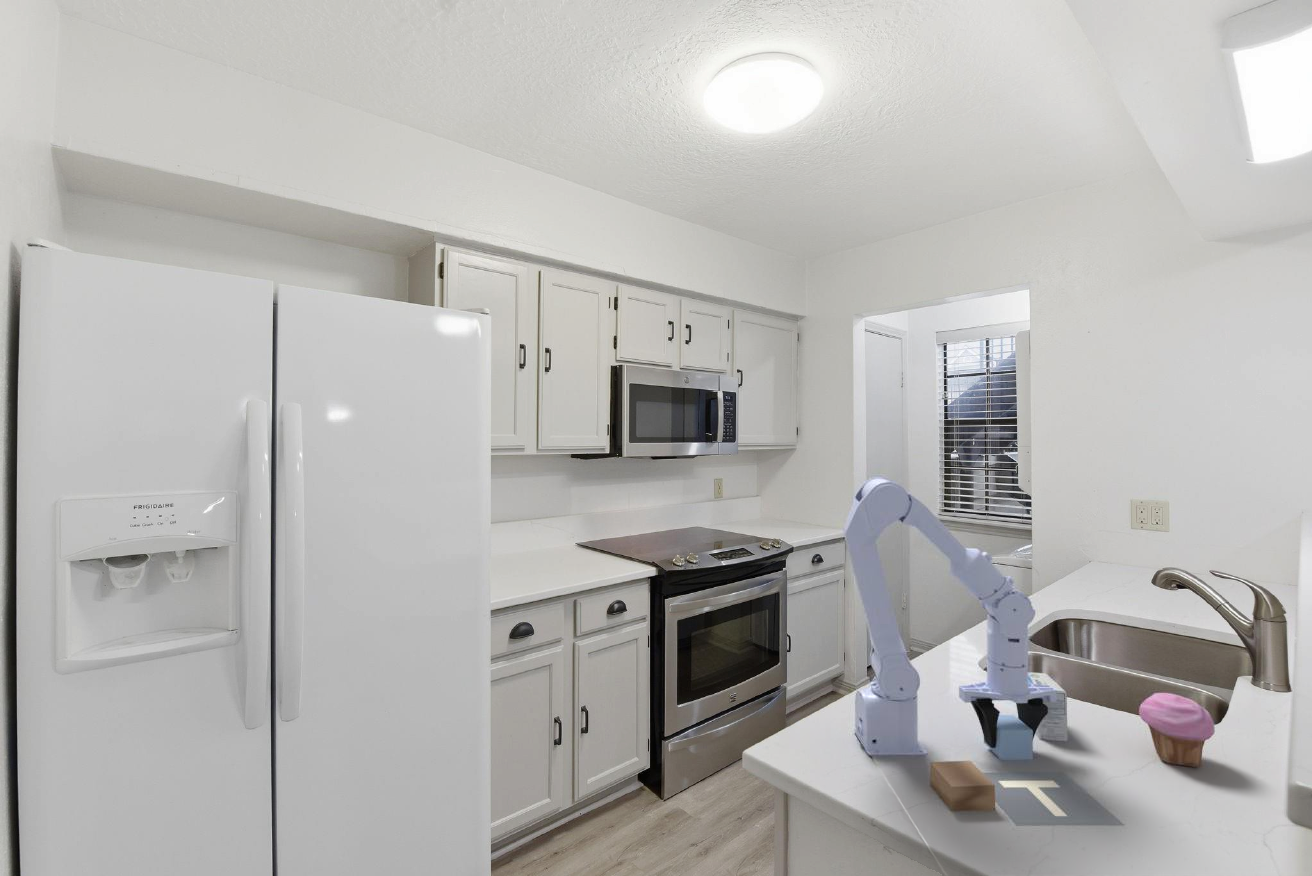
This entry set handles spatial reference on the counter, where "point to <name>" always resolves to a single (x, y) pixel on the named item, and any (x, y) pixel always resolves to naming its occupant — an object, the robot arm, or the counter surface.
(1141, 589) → the counter surface
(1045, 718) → the medicine box
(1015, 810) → the board
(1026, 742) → the blue cube
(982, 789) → the walnut block
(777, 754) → the counter surface
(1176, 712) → the cupcake
